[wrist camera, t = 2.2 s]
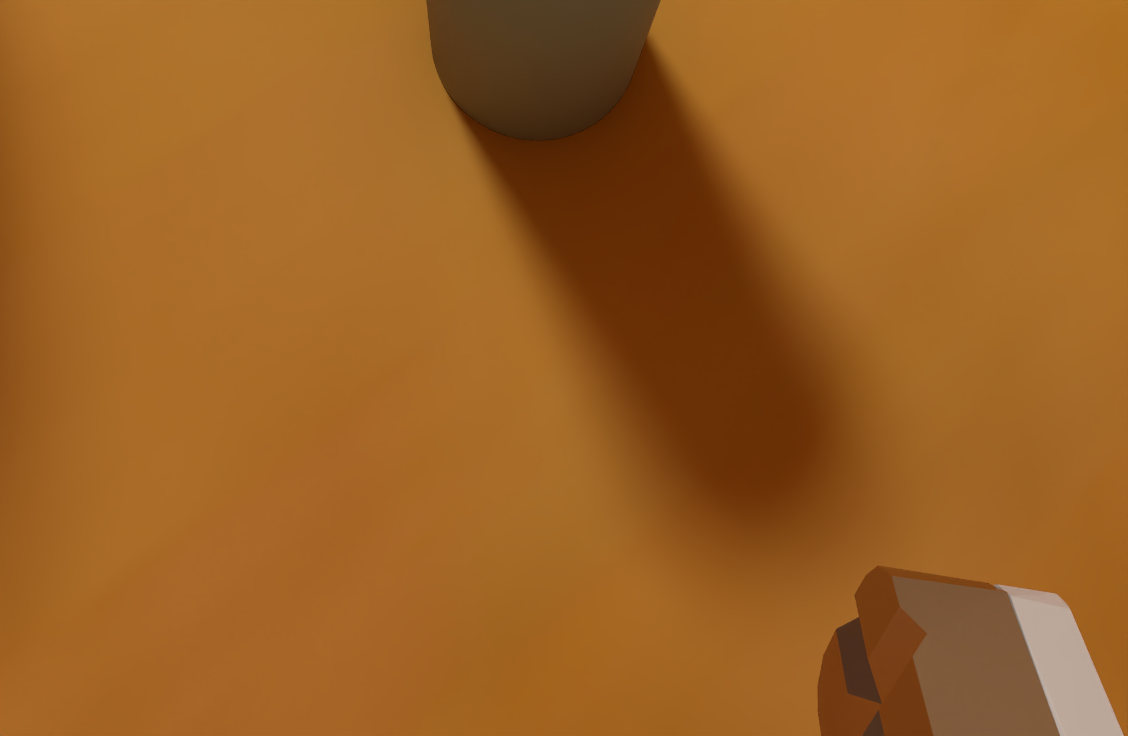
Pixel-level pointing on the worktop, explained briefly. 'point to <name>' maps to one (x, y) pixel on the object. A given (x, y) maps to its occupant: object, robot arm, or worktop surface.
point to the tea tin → (538, 60)
